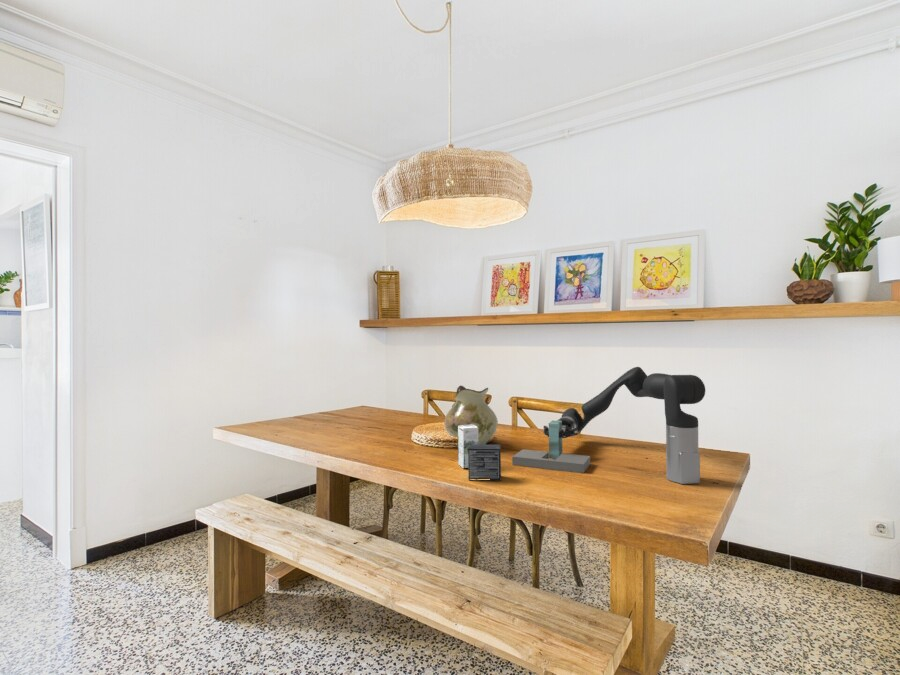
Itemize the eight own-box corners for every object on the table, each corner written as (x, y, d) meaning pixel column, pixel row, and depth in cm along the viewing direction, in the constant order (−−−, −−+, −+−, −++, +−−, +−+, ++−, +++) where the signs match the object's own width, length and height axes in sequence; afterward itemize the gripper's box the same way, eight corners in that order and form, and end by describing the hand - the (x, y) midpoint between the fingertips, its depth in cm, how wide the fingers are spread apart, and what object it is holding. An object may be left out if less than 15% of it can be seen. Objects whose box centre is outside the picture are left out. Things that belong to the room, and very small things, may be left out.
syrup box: (472, 463, 173) (472, 423, 173) (478, 468, 167) (478, 426, 167) (457, 465, 171) (457, 424, 171) (463, 469, 165) (463, 427, 165)
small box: (501, 475, 158) (500, 443, 158) (501, 481, 152) (500, 448, 152) (469, 474, 159) (468, 443, 159) (468, 480, 153) (467, 448, 153)
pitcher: (482, 454, 186) (481, 390, 187) (432, 447, 199) (431, 387, 199) (506, 443, 206) (505, 385, 206) (459, 438, 218) (458, 383, 218)
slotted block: (583, 473, 160) (583, 464, 160) (512, 464, 171) (512, 456, 171) (590, 464, 170) (590, 456, 170) (522, 457, 181) (522, 449, 181)
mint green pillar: (558, 459, 175) (558, 423, 175) (549, 458, 176) (548, 423, 176) (562, 455, 180) (561, 420, 180) (553, 454, 182) (552, 420, 182)
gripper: (583, 437, 189) (573, 446, 173) (547, 434, 195) (535, 443, 180) (582, 418, 189) (573, 426, 173) (547, 416, 195) (535, 423, 180)
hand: (554, 434), depth 176 cm, fingers closed on mint green pillar, 3 cm apart
